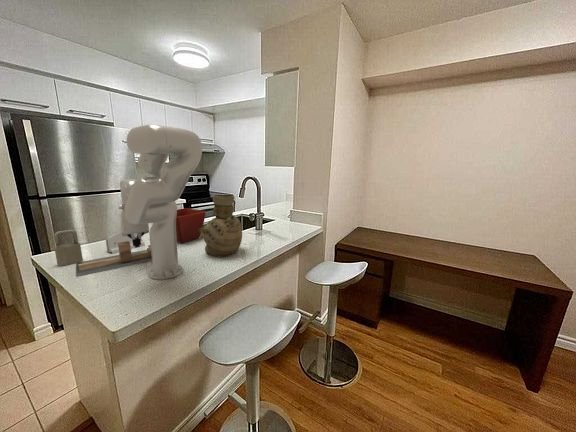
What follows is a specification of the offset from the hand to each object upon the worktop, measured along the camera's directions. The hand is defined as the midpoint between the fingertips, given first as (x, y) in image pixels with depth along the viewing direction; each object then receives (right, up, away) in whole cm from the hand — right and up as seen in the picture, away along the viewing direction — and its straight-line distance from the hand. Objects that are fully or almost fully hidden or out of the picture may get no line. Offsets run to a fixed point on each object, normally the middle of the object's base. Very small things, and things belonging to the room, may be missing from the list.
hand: (137, 246), depth 110 cm
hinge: (-17, -3, +17) cm, 24 cm away
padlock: (-28, -7, -3) cm, 29 cm away
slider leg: (-5, -5, -1) cm, 7 cm away
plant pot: (+7, 0, +34) cm, 35 cm away
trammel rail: (-6, -6, -1) cm, 8 cm away
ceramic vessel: (+36, -5, +13) cm, 39 cm away
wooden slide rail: (-6, -7, 0) cm, 9 cm away
